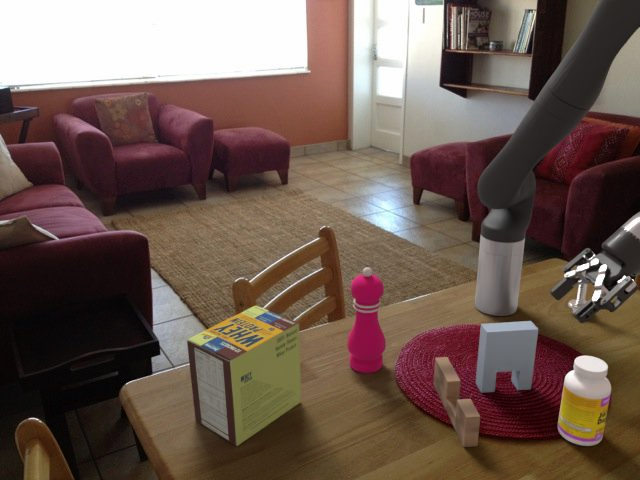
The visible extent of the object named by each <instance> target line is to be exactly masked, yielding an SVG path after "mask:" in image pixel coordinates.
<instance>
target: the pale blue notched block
mask: <svg viewBox="0 0 640 480" xmlns="http://www.w3.org/2000/svg"><path fill="white" fill-rule="evenodd" d="M479 329H480V330H479V331H480V332H479V341H478V342H479V343H478V353H477V362H476V373H475V374H476V375H475V385H476V386H477V388H478V390H479V392H480V393H481V394H484V393H485V394H486V393H495V392H496V391H495V390H496V384H497V383H496V381H497V373H504V372H505V373H506V372H511V377H510V378H511V379H510V382H512V384H513V385H514V387H515V389H516V390H517V391H523V390H525V391H526V390H527V391H528V390H531V389H532V384H533V383H532V382H533V377H534V376H533V374H534V367H535V358H536V351H537V343H538V342H537V341H538V335H539V327H538V326H536V325H535V323H534V322H532V320H523V321H521V320H520V321H509V322H504V321H503V322H490V323H488V322H487V323H481V324H480V328H479Z"/></svg>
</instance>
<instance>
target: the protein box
mask: <svg viewBox="0 0 640 480" xmlns="http://www.w3.org/2000/svg"><path fill="white" fill-rule="evenodd" d="M186 343H187V352H188V353H187V354H188V362H189V363H188V364H189V372H190V381H191V390H192V392H191V393H192V399H193V401H192V402H193V408H194V409H193V410H194V411H193V412H194V418H195V420H194V421H195V422H196V423H198V424H200V425H202V426H203V427H205V428H206V429H207V430H210V431H211V432H213V433H214V434H216V435H217V436H218V437H221V438H222V439H224V440H225V441H227V442H228V443H230V444H231V445H233V446H235V447H238V446H240V445H241V444H242V443H244V442H245V441H247V440H248V439H249V438H251V437H252V436H254V435H255V434H257V433H258V432H260V431H261V430H262V429H264V428H266V427H267V426H268V425H270V424H271V423H273V422H274V421H276V420H277V419H278V418H280V417H281V416H283V415H284V414H286V413H287V412H289V411H290V410H291V409H293V408H294V407H296V406H297V405H299V404H300V403H302V389H301V388H302V385H301V383H302V381H301V380H302V379H301V354H300V353H301V352H300V351H301V349H300V346H301V345H300V323H299V322H298V321H296V320H293V319H290V318H288V317H285V316H283V315H281V314H278V313H275V312H272V311H270V310H268V309H266V308H263V307H260V306H258V305H254V306H251V307H248V308H247V309H245V310H243V311H242V312H240V313H238V314H236V315H233V316H232V317H229V318H227V319H225V320H223V321H221V322H220V323H219V322H218V323H217V324H215V325H213V326H210V327H209V328H207V329H205V330H203V331H200V332H199V333H196V334H195V335H193V336H191V337H189V338H188V339H187V340H186Z"/></svg>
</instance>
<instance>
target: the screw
mask: <svg viewBox="0 0 640 480" xmlns="http://www.w3.org/2000/svg"><path fill="white" fill-rule="evenodd" d="M584 272H585V273H586V271H584ZM577 288H578V289H577V292H576V293H577V294H576V295H577V296H576V298H575V299H573V298H572V299H571V300H569V301H567V305H568V307H569V308H571V309H572V314H574V313H575V312H576V311H577V310H578V309H579V308H580V307H581V306H583V305H584V304H585V303H586V302H587V301H588V300H586V298H587V297H586V296H587V291H588V284H585V283H581V284H578V285H577Z"/></svg>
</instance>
